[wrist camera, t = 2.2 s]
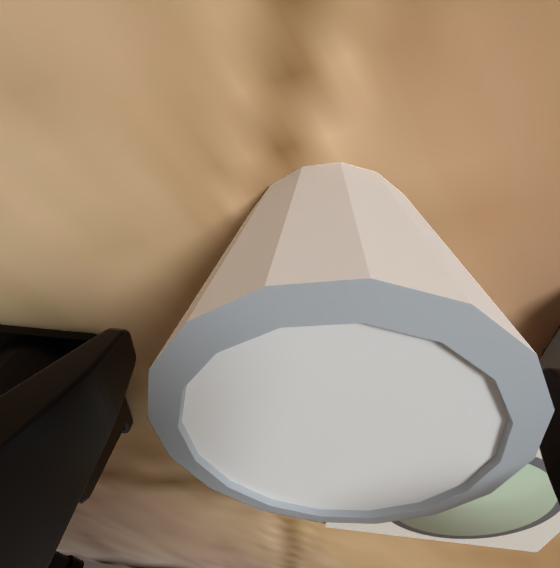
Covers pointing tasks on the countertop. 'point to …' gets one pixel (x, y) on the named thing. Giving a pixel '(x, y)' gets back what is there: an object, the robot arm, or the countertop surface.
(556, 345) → the button housing
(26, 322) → the countertop surface
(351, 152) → the countertop surface
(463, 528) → the white square board
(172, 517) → the countertop surface
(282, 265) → the shot glass
